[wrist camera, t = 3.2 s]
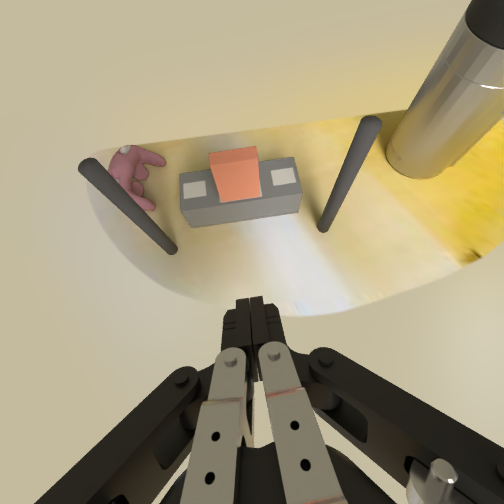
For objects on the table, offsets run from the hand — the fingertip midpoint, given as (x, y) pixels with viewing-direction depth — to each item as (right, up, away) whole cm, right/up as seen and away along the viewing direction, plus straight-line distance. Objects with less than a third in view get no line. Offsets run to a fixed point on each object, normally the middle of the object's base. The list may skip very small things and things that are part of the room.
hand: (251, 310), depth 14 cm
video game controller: (-17, +14, +27) cm, 35 cm away
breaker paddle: (-1, +11, +18) cm, 21 cm away
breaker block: (-1, +11, +24) cm, 26 cm away
